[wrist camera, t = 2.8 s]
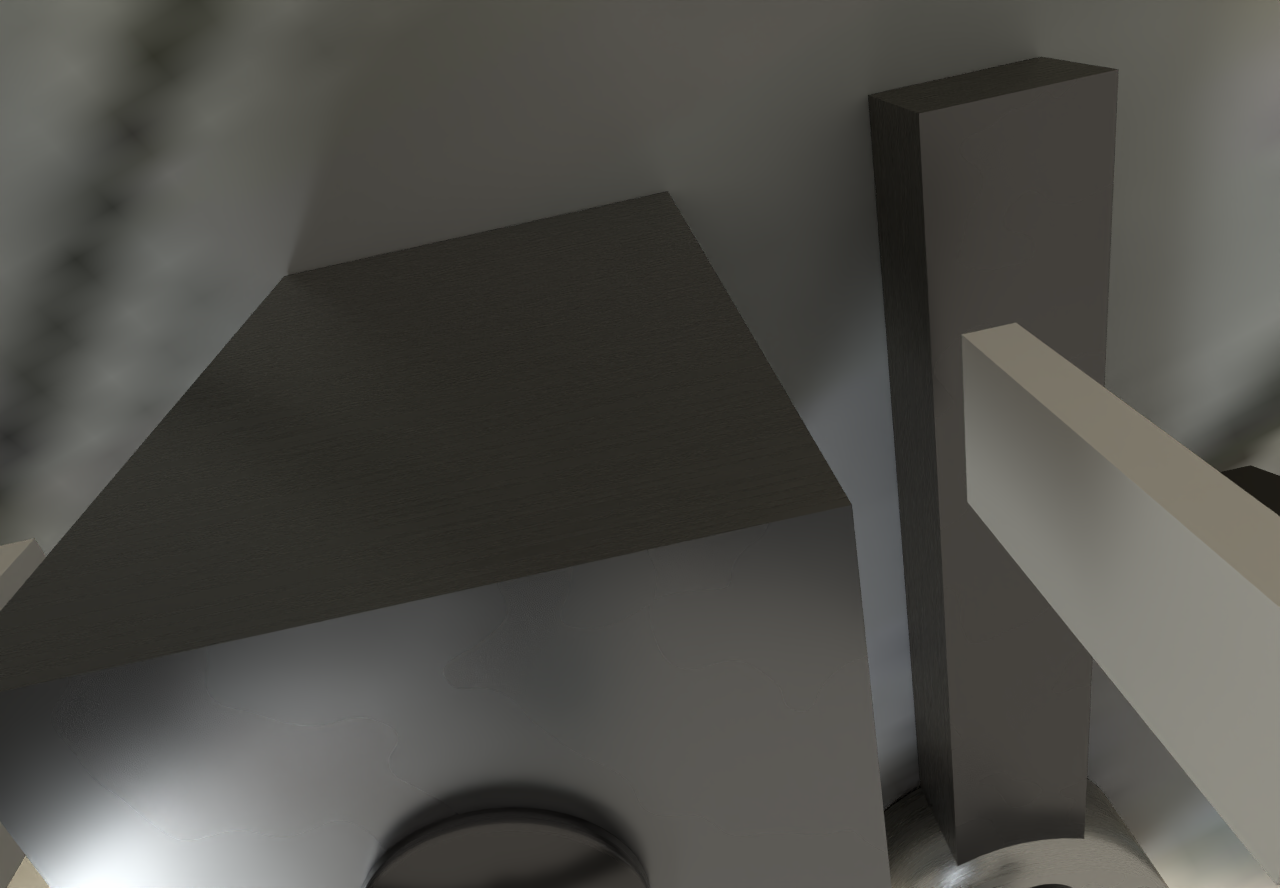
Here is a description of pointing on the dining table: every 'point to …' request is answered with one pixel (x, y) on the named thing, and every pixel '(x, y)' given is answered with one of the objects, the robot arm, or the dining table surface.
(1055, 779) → the ratchet
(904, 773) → the dining table surface
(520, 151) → the dining table surface
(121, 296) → the dining table surface
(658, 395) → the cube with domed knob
